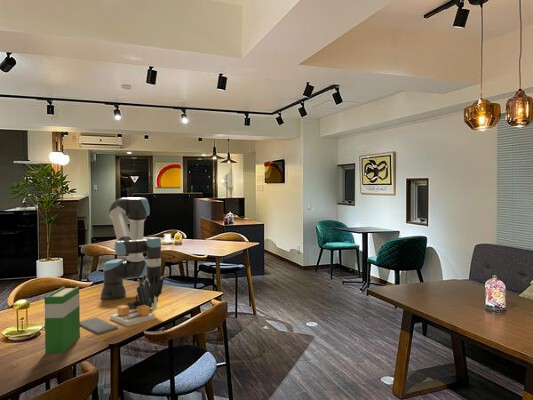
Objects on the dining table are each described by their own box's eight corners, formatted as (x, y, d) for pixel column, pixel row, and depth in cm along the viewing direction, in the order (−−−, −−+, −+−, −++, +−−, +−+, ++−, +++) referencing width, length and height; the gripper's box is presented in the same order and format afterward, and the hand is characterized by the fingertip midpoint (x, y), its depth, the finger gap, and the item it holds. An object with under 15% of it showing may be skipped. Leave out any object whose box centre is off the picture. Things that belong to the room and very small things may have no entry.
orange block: (137, 313, 212) (137, 306, 212) (144, 312, 215) (143, 304, 215) (142, 315, 209) (142, 308, 209) (149, 314, 212) (149, 306, 212)
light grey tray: (110, 319, 211) (110, 315, 211) (137, 312, 223) (137, 308, 223) (127, 326, 200) (127, 322, 200) (154, 318, 212) (154, 314, 212)
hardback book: (63, 337, 185) (62, 286, 184) (79, 337, 186) (79, 286, 185) (45, 353, 167) (44, 297, 167) (63, 352, 168) (62, 296, 167)
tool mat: (77, 324, 203) (77, 322, 203) (96, 319, 211) (96, 317, 211) (98, 334, 189) (98, 332, 189) (117, 328, 196) (117, 326, 196)
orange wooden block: (117, 314, 212) (117, 306, 212) (124, 312, 215) (124, 304, 215) (122, 315, 209) (122, 308, 208) (129, 314, 212) (129, 306, 212)
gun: (124, 283, 233) (147, 277, 230) (131, 311, 233) (154, 306, 229) (122, 284, 230) (144, 279, 227) (129, 312, 230) (152, 307, 227)
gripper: (147, 268, 209) (147, 312, 210) (168, 264, 219) (168, 307, 220) (139, 266, 214) (139, 309, 214) (159, 263, 224) (160, 304, 224)
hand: (154, 308), depth 217 cm, fingers closed
